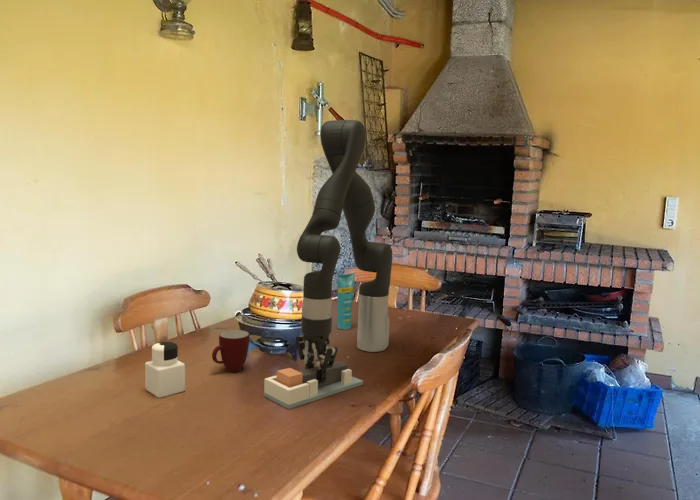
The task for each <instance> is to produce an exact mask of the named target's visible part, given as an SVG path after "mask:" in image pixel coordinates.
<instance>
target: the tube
mask: <svg viewBox="0 0 700 500" xmlns="http://www.w3.org/2000/svg"><path fill="white" fill-rule="evenodd" d="M355 274H356V273H355V272H352V273H351V272H350V273H346V274H337V281H336V282H337V301H336V305H337V309H336V311H337V312H336V328H337V329H339V330H351V327H352V317H353V316H352V315H353V312H352V311H353V310H352V309H353V299H354V298H353V297H354V287H355Z"/></svg>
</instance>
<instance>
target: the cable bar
mask: <svg viewBox="0 0 700 500" xmlns="http://www.w3.org/2000/svg"><path fill="white" fill-rule="evenodd" d="M317 369H318V368H317V366H314V367H313V368H308V369H305V368H304V369H300V370H296V369H294V368H292V367H288V368H284V369H283V368H282V369H280V370H276V375H277V379H276V381H277V382H279V383H281V384H283V385H285V386H287V387H289V388H291V387H294V386H297V385H301V384H304V383H307V381H310V380H313V379H316V380H317ZM346 369H349V365H348V364H347V363H345V362H342V361H339V360H338V361H334V363H333V366H332V367H331V368H327V369H326V380H325V382H324V383H321V384H319V383H318V387H321V386H325V385H329V384H332V383H336V382H340V381H341V372H342V371H343V370H346Z"/></svg>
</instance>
